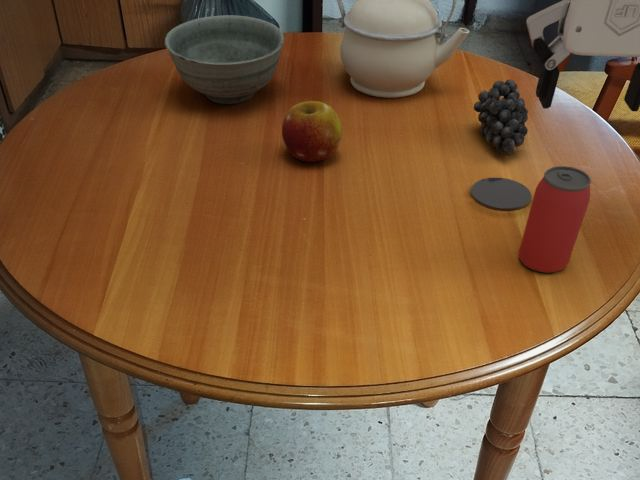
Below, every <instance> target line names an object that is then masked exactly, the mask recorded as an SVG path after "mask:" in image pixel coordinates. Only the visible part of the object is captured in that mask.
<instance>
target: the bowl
mask: <svg viewBox="0 0 640 480" xmlns="http://www.w3.org/2000/svg"><path fill="white" fill-rule="evenodd" d="M284 44H285V36H284V33H283V31H282V30H281V29H280V28H279V27H278V26H276V25H275V24H274V23H271V22H269V21H267V20H264V19H259V18H256V17H252V16H251V17H250V16H245V15H244V16H243V15H234V14H232V15H229V14H228V15H223V14H222V15H221V14H220V15H212V16H210V15H209V16H204V17H199V18H194V19H192V20H188V21H186V22H182V23H180V24H178V25H177V26H175V27H173V28H171V30H170V31H168V32H167V34H166V36H165V38H164V46H165V48H166V50H167V51H168V53H169V56H170V59H171V60H172V62H173V64H174V66H175V68H176V70H177V73H178V74H179V76H180V77H181V79H182V80H183V81H184V82H185V84H187V85H188V86H189V87H191V88H192V89H193V90H194V91H197V92H198V93H201V94H203V95H205V97H206V98H207V99H208V100H210V101H211V102H214V103H218V104H227V105H232V104H240V103H244V102H246V101H248V100H250V99H251V98H253V97H254V95H255V93H256V92H258V91H259V90H261V89H262V88H264V87H266V85H267V84H269V82H270V81H271V80H272V78H273V76H274V75H275V73H276V71H277V69H278V65H279V61H280V58H281V57H280V56H281V53H282V49H283V46H284Z"/></svg>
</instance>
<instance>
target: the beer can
mask: <svg viewBox="0 0 640 480" xmlns="http://www.w3.org/2000/svg"><path fill="white" fill-rule="evenodd" d="M591 183H592V178H591V177H590V175H589V174H587V172H585V171H583V170H581V169H579V168H576V167H573V166H566V165H558V166H552V167H550V168H548V169H546V171H545V172H544V173H543V177H542V178H541V179H540V181H539V182H538V184H537V185H536V187H535V190H534V193H533V194H534V195H533V197H532V202H531V205H530V209H529V213H528V217H527V220H526V224H525V227H524V231H523V235H522V239H521V242H520V246H519V250H518V257H519V261H520V262H521V263H522V264H523V265H524V266H525V267H527V268H528V269H530V270H532V271H535V272H539V273H544V274H545V273H546V274H549V273H550V274H551V273H556V272H559V271H560V272H561V270H563V269H565V268H566V267H567V266H568V264H569V262H570V259H571V256H572V253H573V251H574V248H575V244H576V242H577V238H578V236H579V232H580V229H581V227H582V225H583V221H584V219H585V215H586V212H587V209H588V206H589V204H590V200H591Z"/></svg>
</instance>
